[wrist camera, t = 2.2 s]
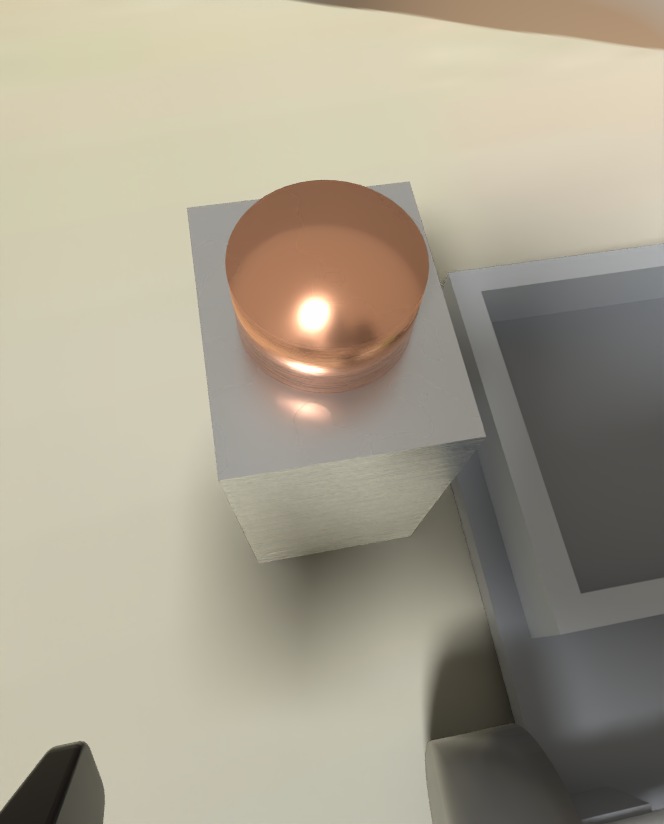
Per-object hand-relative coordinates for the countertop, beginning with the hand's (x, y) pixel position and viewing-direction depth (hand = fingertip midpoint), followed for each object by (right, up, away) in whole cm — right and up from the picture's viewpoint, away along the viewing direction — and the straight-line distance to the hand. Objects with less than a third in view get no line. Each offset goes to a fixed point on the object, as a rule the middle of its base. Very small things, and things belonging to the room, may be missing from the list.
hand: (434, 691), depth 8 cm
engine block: (-2, +2, +15) cm, 16 cm away
